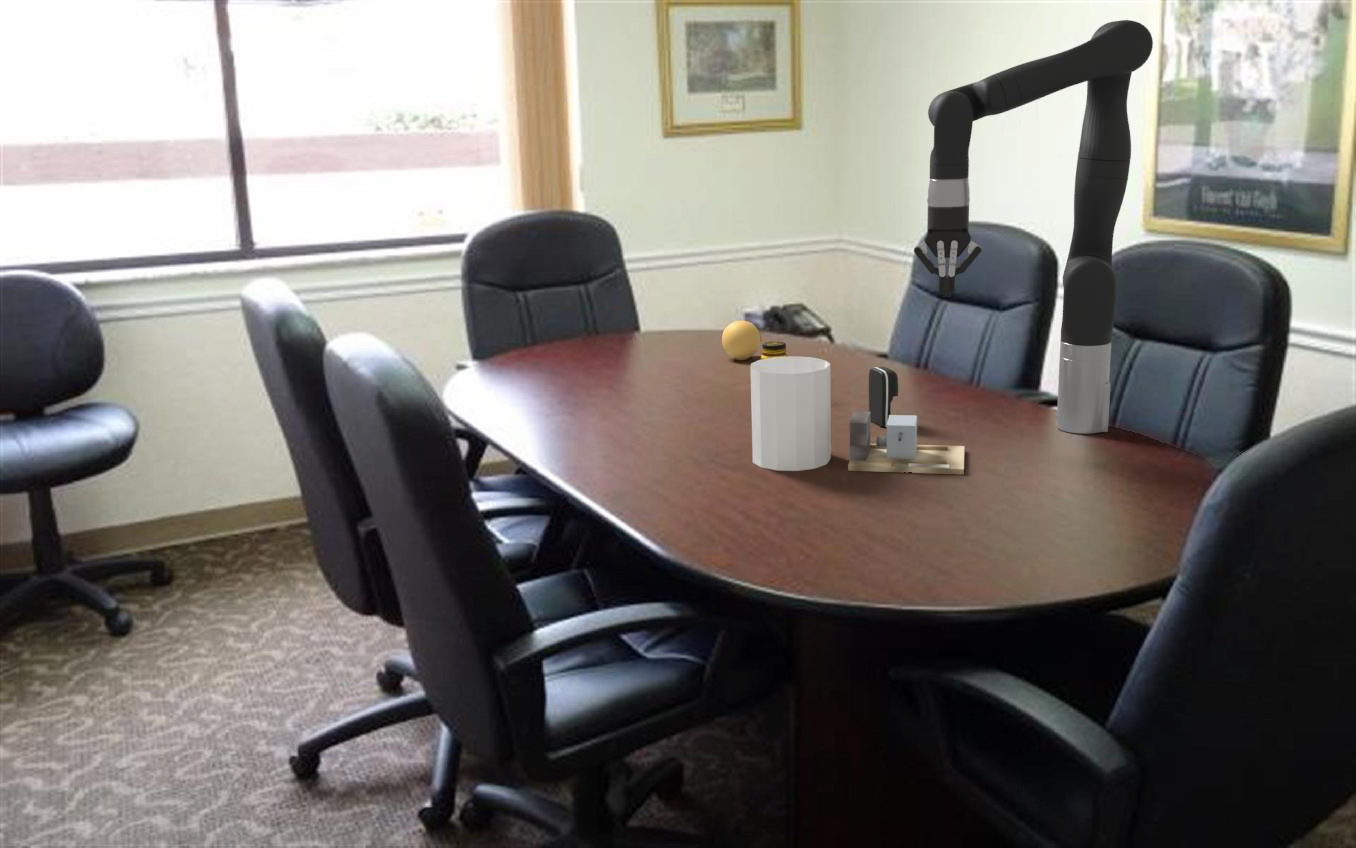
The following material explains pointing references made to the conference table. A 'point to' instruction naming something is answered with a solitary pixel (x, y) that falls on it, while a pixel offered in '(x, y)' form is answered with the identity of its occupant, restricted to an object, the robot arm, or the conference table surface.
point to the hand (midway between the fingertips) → (946, 295)
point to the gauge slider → (900, 437)
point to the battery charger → (881, 393)
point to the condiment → (773, 350)
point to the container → (791, 413)
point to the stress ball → (741, 339)
